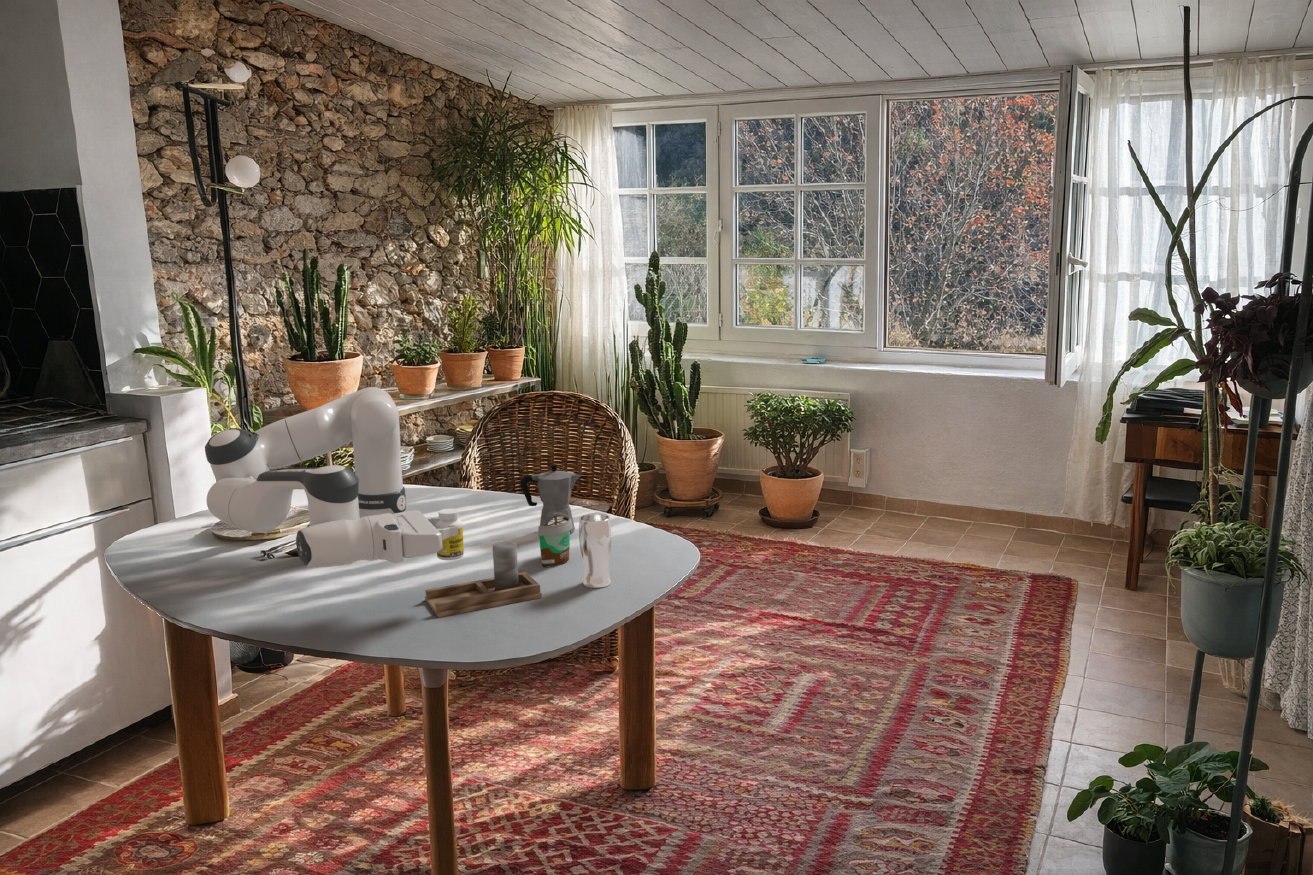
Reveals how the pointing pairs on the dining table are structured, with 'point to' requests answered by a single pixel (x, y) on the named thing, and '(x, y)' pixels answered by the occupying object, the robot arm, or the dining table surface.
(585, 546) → the beer glass
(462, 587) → the wooden compartment tray
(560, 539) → the food container
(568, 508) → the coffeepot
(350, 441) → the robot arm
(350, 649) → the dining table surface
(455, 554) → the supplement bottle
